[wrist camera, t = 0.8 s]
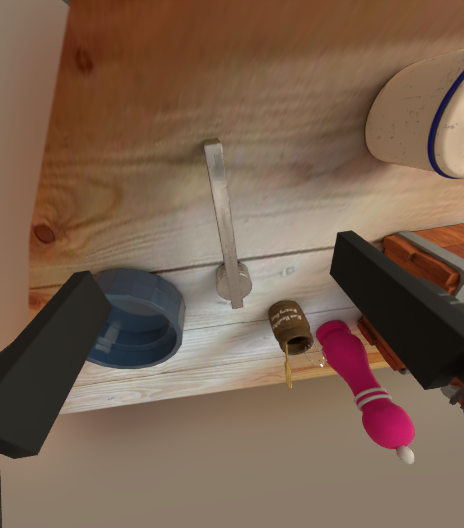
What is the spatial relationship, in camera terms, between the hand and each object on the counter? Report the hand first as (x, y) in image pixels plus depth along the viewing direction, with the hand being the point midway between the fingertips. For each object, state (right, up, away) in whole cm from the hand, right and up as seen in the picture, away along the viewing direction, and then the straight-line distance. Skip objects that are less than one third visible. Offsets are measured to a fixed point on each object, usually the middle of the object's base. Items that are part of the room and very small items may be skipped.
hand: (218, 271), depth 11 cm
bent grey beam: (0, +5, +16) cm, 17 cm away
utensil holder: (+10, -8, +26) cm, 29 cm away
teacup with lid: (+20, +17, +10) cm, 28 cm away
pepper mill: (+21, -13, +31) cm, 39 cm away
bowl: (-15, -6, +22) cm, 27 cm away
